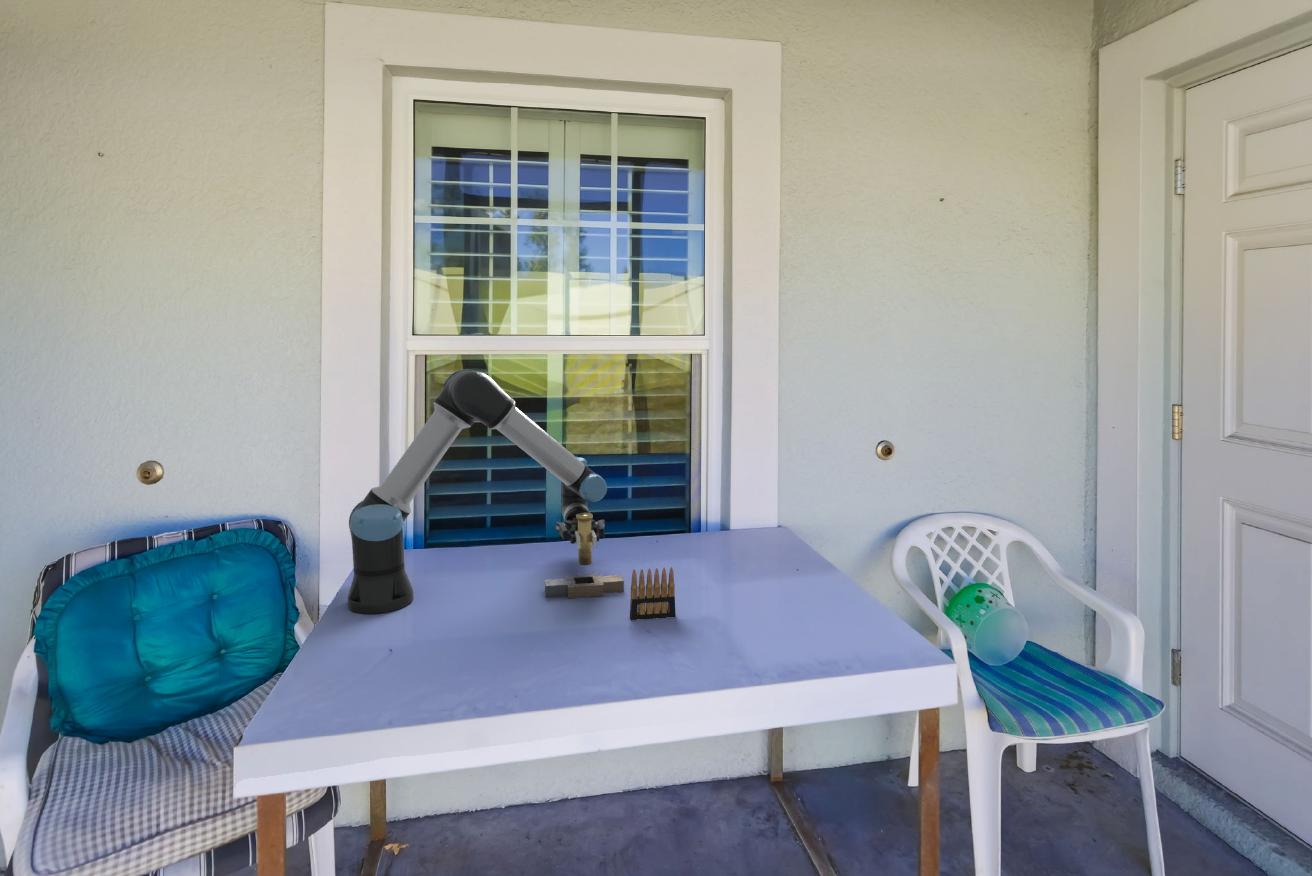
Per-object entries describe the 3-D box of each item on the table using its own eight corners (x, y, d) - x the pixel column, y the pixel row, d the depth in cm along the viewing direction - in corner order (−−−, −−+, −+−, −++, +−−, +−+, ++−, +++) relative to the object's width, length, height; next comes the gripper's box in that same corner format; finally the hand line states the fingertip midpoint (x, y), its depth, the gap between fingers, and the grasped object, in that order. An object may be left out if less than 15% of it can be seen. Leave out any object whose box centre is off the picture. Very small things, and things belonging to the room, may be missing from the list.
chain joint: (546, 600, 174) (545, 588, 174) (544, 588, 183) (544, 577, 182) (625, 594, 178) (625, 583, 178) (619, 583, 187) (619, 572, 187)
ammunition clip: (674, 614, 166) (674, 565, 164) (675, 617, 164) (676, 568, 163) (629, 617, 164) (629, 568, 162) (630, 620, 162) (630, 570, 161)
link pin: (577, 566, 177) (576, 517, 175) (576, 561, 181) (575, 513, 180) (594, 565, 178) (593, 516, 176) (592, 560, 182) (591, 512, 180)
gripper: (607, 530, 198) (619, 555, 176) (548, 533, 195) (554, 559, 172) (606, 504, 197) (619, 526, 175) (548, 507, 194) (553, 530, 171)
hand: (587, 542), depth 173 cm, fingers closed on link pin, 3 cm apart
